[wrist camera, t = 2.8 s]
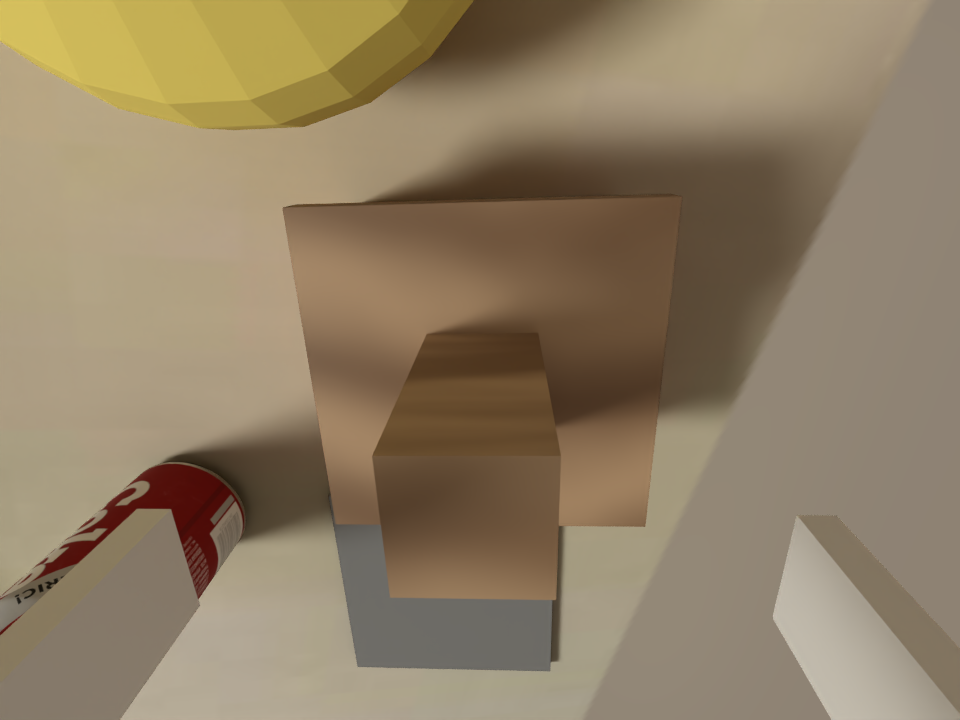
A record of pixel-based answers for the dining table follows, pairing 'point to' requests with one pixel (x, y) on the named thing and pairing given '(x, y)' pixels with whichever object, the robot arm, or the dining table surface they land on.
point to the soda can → (173, 485)
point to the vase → (230, 53)
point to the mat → (434, 618)
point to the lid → (485, 375)
